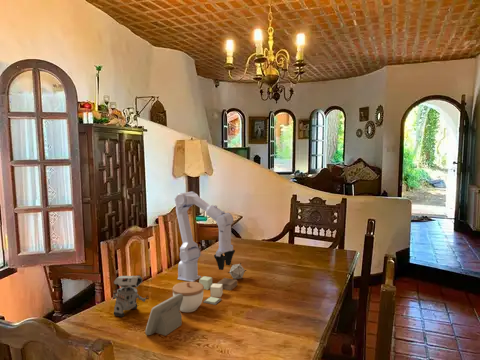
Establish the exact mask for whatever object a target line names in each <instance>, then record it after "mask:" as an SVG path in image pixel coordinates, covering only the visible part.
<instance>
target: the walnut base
mask: <svg viewBox="0 0 480 360" xmlns="http://www.w3.org/2000/svg"><path fill="white" fill-rule="evenodd" d="M217 284H223V290H226V291H232V290H233V289H235V288H236V287H237V286H238V279H233V278H227V277H223V278H222V279H220V280H219V281H218V282H217Z"/></svg>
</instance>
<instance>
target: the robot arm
mask: <svg viewBox="0 0 480 360" xmlns="http://www.w3.org/2000/svg"><path fill="white" fill-rule="evenodd" d="M174 203H175V214H176V217H177V222H178V227H179V233H180V237H181V242H182V244H181V246H180V247H179V251H180V252H179V259H180V261H179V262H178V266H177V280H181V281H184V282H196V281H197V280H198V279H200V278H202V276H201V275H198V273H199V271H198V263H199V262H198V261H199V258H200V257H201V250H200V248H199V246H198V245H199V244H198V243H196V242H195V241H194V237H193V233H192V227H191V224H190V219H189V213H188V211H189V209H190V208H191V207H192V206H193V205H195V206H197V207H198V208H199V209H201V210H203V211H204V212H206V216H208V217H209V218H211V220H213V221H215V222H216V224H217V226H218V227H217V228H218V248H217V250H216V252H215V254H214V255H213V256H214V257H213V258H214V259H215V261H216V263H217V268H218V271H219V270H220V271H224V269H225V265H226V266H232V265H231V264H232V260H233V256H234V254H235V252H236V250H235V249H234V244H232V224H233V223H234V216H233V215H232V214H231V213H230V212H225V210H222V209H220V208H219V207H218V205H214V204H212V205H210V204H209V203H208V202H206V201H205V200H203V198H201V197H200V196H199V194H197V193H196V192H195V191H187V192H186V191H185V192H179V193H177V194H176V196H175V198H174Z"/></svg>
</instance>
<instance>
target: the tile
mask: <svg viewBox="0 0 480 360" xmlns="http://www.w3.org/2000/svg"><path fill="white" fill-rule="evenodd" d="M222 300H223V298H221V297H211V296H208V298H206V299H205V300H204V301H203V300H202V303H205V304H207V305H208V304H209V305H214V306H217V304H219V303H220V302H221V301H222Z"/></svg>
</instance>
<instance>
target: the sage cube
mask: <svg viewBox="0 0 480 360" xmlns="http://www.w3.org/2000/svg"><path fill="white" fill-rule="evenodd" d="M198 279H199V280H198V283H201V284H202V285H203V286H204V290H206V291H208V290H210V287H211V285H212V284H213V277H211V276H205V275H203V276H201V277H200V278H198Z"/></svg>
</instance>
